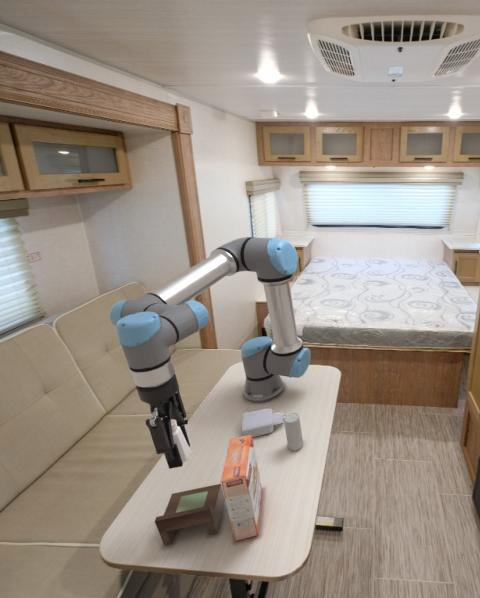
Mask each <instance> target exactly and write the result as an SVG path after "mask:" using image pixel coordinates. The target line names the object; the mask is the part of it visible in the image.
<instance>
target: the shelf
mask: <svg viewBox="0 0 480 598" xmlns="http://www.w3.org/2000/svg"><path fill="white" fill-rule="evenodd" d="M225 502H226V501H225V497H224V493H223V489H222V484H221V483H218V484H213V485H208V486H203V487H198V488H193V489H188V490H183V491H178V492H174V493H173V492H172V493H171V495H170V498H169V500H168V502H167V506H166V508H165V509H164V513H163V515H159V516H156V517H155V519H154V525H155V526H156V528H157V532H158V533H159V536H160V539H161V542H162V544H163V546H164V547H165V546H170V545H172V544H173V541H174V537H175V534H176V532H177V530H179V529H183V528H189V527H193V526H197V525H201V524H206V526H207V529H208V533H209V535H210V536H212V535H217V534H218V531H219V527H220V523H221V518H222V513H223V509H224V504H225Z"/></svg>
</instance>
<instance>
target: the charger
mask: <svg viewBox="0 0 480 598" xmlns="http://www.w3.org/2000/svg"><path fill="white" fill-rule="evenodd" d="M287 414H288V413H286V414H283V412H276V413H274V411H273V409H272V408H270V407H268V408H263V409H258V410H253V411H248V412H244V413H242V423H241V433H242V436H247V435H252V436H253V438H255V437H260V436H263V435H264V436H265V435H268V434H272V432H273V431H275V430H274V429H275V427H274V426H278V425H281V424H283V423H284V418H285V416H286V415H287Z"/></svg>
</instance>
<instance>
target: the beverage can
mask: <svg viewBox="0 0 480 598" xmlns="http://www.w3.org/2000/svg"><path fill="white" fill-rule="evenodd" d="M286 414H287V415H286ZM286 414H285V415H286V416H284V417H283V418H284V419H283V423H284V429H285V437H286V442H287V447H288V449H289V450H291V451H299V450H300V449H301V448H302V447H303V444H304V441H303V433H302V426H301V419H300V415H299V413H297V412H290V413H286Z"/></svg>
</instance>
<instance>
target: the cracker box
mask: <svg viewBox="0 0 480 598" xmlns="http://www.w3.org/2000/svg"><path fill="white" fill-rule="evenodd" d="M220 484H221V486H222V490H223V494H224V498H225V501H224V502H225V504H226V509H227V512H228V518H229V521H230V526H231V529H232V533H233V537H234V541H235V542H238V541H241V540H246V539H249V538H253V537H257V536H259V532H260V531H259V529H260V518H261V510H262V509H261V506H262V497H263V486H262V480H261V476H260V470H259V464H258V460H257V454H256V448H255V442H254V437H253V436H252V435H247V436H243V435H242V436H237V437H232V438H230V439H229V442H228V446H227V451H226V455H225V460H224V465H223V470H222V474H221V478H220Z"/></svg>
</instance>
